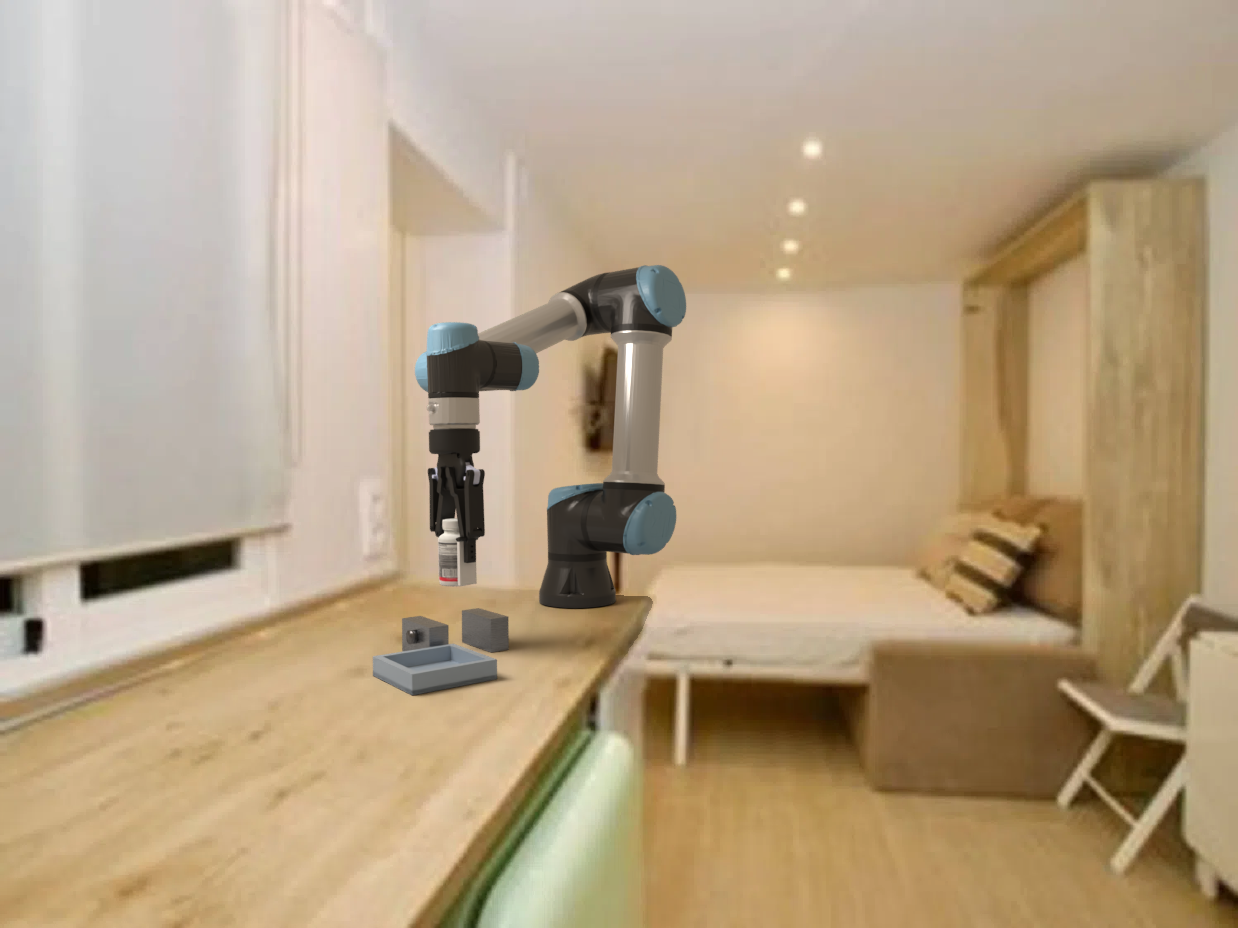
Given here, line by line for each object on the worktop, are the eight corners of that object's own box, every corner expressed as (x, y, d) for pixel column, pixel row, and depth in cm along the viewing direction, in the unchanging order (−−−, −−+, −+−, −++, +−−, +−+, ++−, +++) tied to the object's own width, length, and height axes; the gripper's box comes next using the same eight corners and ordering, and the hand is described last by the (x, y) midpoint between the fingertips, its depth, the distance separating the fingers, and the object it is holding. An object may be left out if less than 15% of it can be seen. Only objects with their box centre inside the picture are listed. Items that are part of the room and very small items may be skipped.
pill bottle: (464, 579, 134) (463, 516, 134) (482, 584, 130) (481, 519, 130) (432, 584, 131) (431, 519, 131) (449, 588, 127) (448, 521, 127)
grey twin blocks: (484, 638, 139) (484, 607, 139) (514, 648, 132) (514, 615, 132) (395, 652, 129) (395, 618, 129) (423, 664, 122) (422, 628, 122)
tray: (453, 661, 124) (453, 643, 124) (497, 678, 114) (496, 659, 114) (372, 675, 116) (372, 656, 116) (412, 695, 107) (412, 674, 107)
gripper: (404, 428, 135) (407, 577, 135) (461, 426, 120) (464, 593, 121) (448, 428, 139) (451, 572, 140) (508, 426, 125) (511, 586, 126)
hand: (457, 581), depth 131 cm, fingers closed on pill bottle, 5 cm apart
